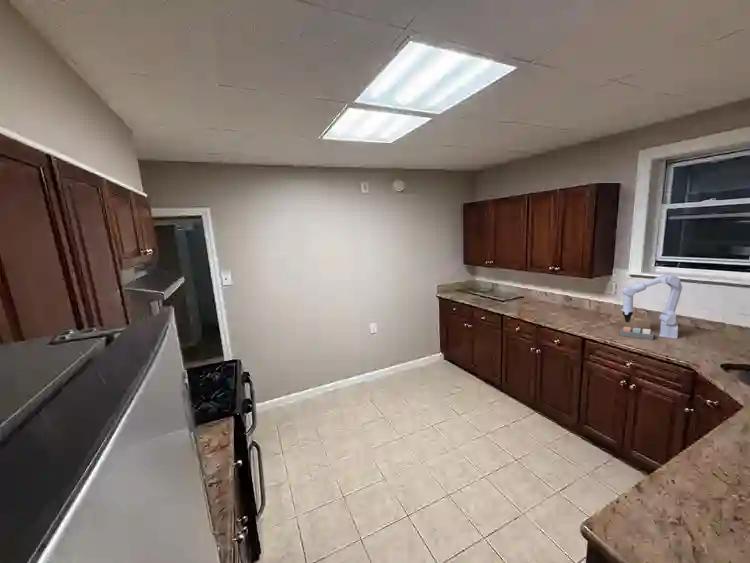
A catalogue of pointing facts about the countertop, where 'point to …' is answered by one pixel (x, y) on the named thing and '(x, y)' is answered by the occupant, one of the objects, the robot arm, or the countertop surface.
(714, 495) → the countertop surface
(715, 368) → the countertop surface
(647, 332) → the key ivory
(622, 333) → the grey slotted frame
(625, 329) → the key terracotta
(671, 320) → the robot arm
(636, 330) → the key slate
